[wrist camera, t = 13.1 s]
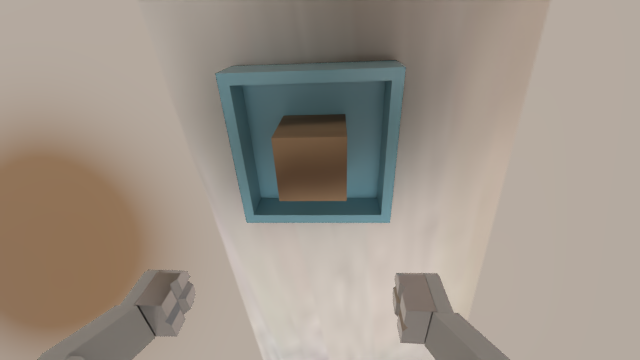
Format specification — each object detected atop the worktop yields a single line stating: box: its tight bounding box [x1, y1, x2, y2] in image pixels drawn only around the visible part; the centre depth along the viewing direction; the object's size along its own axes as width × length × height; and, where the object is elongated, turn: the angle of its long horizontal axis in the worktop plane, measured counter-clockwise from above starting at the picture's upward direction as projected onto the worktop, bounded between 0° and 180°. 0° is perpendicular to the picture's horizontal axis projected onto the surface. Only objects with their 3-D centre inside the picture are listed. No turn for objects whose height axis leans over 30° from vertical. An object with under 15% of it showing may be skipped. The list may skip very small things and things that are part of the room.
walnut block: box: [271, 114, 347, 201], centre depth 22 cm, size 5×5×5 cm
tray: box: [215, 60, 406, 223], centre depth 23 cm, size 13×13×4 cm
